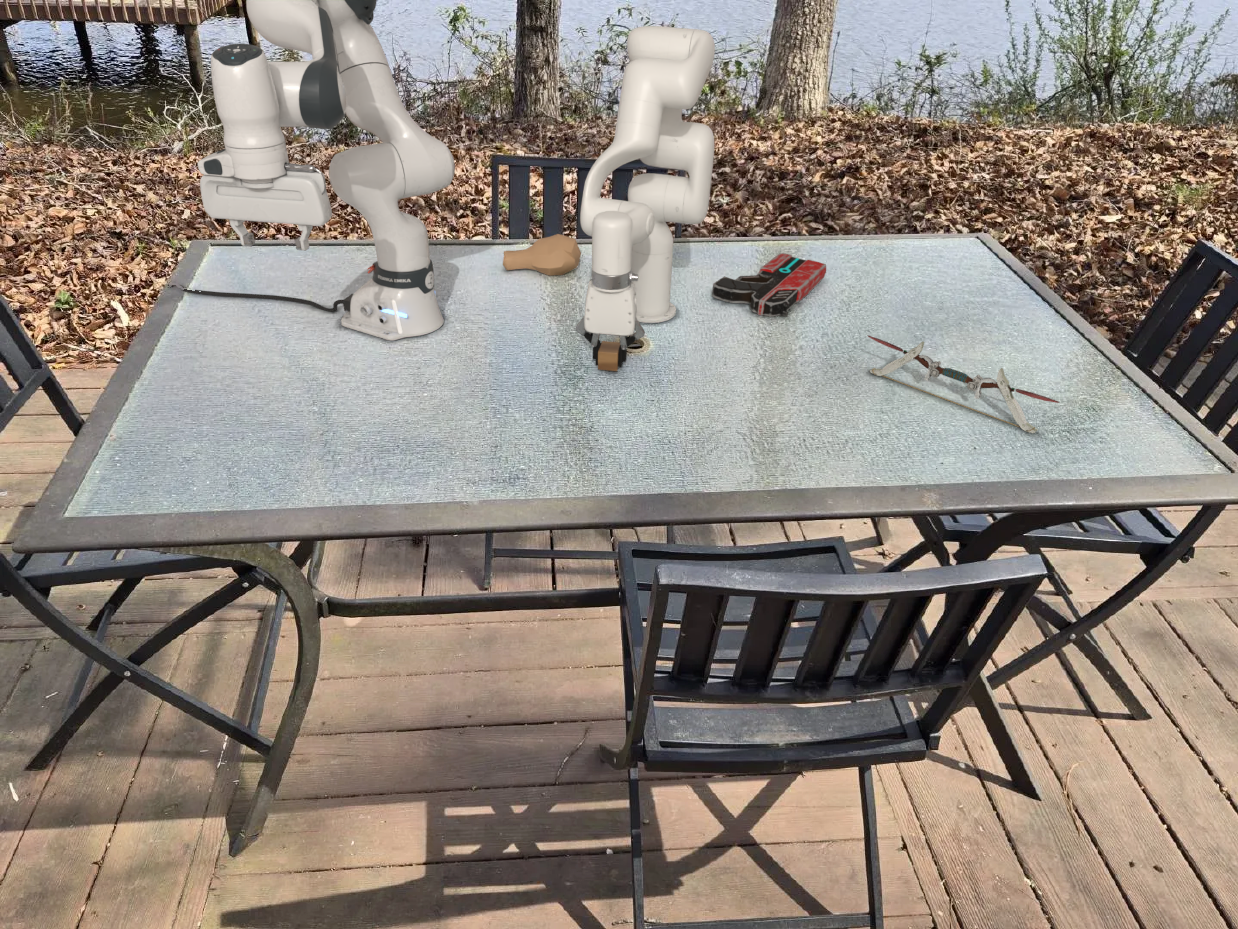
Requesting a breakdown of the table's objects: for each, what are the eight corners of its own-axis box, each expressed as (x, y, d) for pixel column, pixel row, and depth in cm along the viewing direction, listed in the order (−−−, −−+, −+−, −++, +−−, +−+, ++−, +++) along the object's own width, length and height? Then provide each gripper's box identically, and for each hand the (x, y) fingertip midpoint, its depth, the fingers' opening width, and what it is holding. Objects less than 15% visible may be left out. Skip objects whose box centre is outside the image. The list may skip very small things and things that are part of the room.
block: (617, 371, 176) (617, 353, 174) (597, 369, 177) (597, 351, 175) (620, 360, 181) (621, 342, 178) (601, 358, 181) (602, 340, 179)
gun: (708, 284, 207) (784, 305, 199) (760, 245, 229) (831, 262, 221) (706, 302, 209) (781, 323, 201) (758, 261, 231) (828, 278, 223)
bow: (1049, 436, 162) (1066, 388, 156) (1045, 439, 161) (1062, 391, 155) (863, 366, 183) (872, 322, 178) (859, 369, 182) (867, 325, 176)
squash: (582, 279, 220) (577, 247, 214) (504, 286, 221) (496, 255, 215) (583, 257, 228) (579, 225, 221) (508, 264, 229) (501, 233, 223)
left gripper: (330, 160, 138) (344, 245, 146) (208, 151, 140) (227, 236, 148) (313, 170, 133) (328, 258, 140) (187, 162, 135) (208, 249, 142)
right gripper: (656, 274, 171) (652, 358, 181) (572, 267, 172) (572, 351, 183) (652, 288, 164) (648, 375, 175) (564, 281, 166) (565, 368, 176)
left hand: (275, 247), depth 144 cm, fingers open, 8 cm apart
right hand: (609, 362), depth 178 cm, fingers closed on block, 4 cm apart
